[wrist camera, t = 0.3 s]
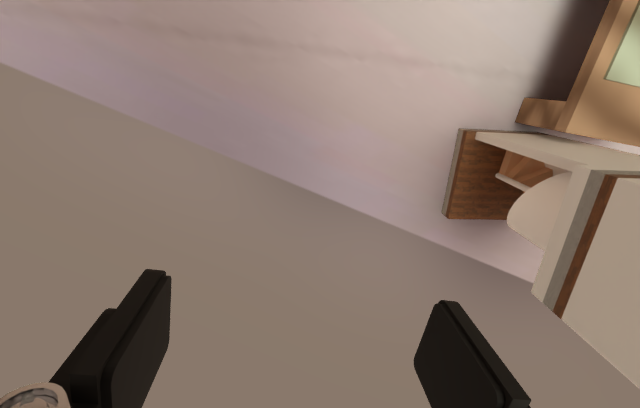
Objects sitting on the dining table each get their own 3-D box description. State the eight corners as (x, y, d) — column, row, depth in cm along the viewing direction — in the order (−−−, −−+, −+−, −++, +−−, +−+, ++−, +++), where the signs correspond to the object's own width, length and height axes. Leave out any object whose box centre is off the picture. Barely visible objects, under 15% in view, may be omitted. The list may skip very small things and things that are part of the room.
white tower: (458, 128, 41) (1128, 335, 8) (537, 132, 42) (1398, 327, 9) (441, 212, 45) (843, 570, 12) (513, 213, 46) (1054, 545, 14)
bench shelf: (588, -71, 34) (676, -113, 26) (681, -42, 36) (788, -74, 28) (515, 122, 41) (567, 132, 33) (596, 137, 43) (663, 151, 35)
